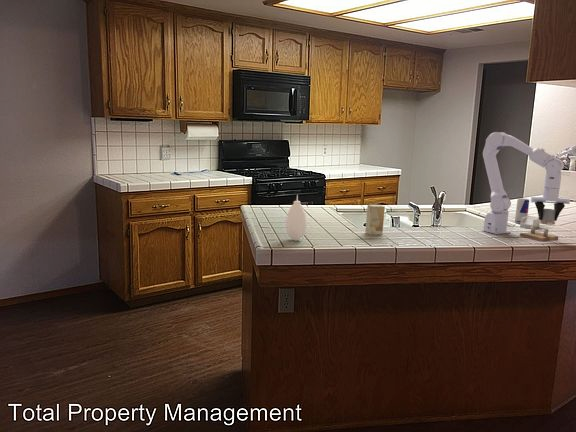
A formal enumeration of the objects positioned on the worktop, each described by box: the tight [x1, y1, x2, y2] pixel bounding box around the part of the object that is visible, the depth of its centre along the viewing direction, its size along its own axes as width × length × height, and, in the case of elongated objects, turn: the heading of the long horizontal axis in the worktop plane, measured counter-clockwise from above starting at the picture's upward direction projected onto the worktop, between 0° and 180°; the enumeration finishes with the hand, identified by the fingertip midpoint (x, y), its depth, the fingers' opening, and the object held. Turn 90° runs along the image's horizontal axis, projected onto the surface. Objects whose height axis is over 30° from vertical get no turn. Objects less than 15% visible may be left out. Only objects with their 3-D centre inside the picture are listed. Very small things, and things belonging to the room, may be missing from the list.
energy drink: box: [514, 197, 530, 224], centre depth 235 cm, size 5×5×12 cm
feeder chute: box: [519, 215, 540, 230], centre depth 225 cm, size 9×6×5 cm
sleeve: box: [539, 208, 556, 226], centre depth 199 cm, size 6×6×6 cm
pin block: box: [519, 226, 559, 242], centre depth 203 cm, size 11×10×4 cm
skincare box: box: [365, 204, 386, 236], centre depth 199 cm, size 6×4×12 cm
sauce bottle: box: [285, 194, 308, 242], centre depth 183 cm, size 8×8×18 cm
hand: (547, 220), depth 199 cm, fingers closed on sleeve, 5 cm apart
